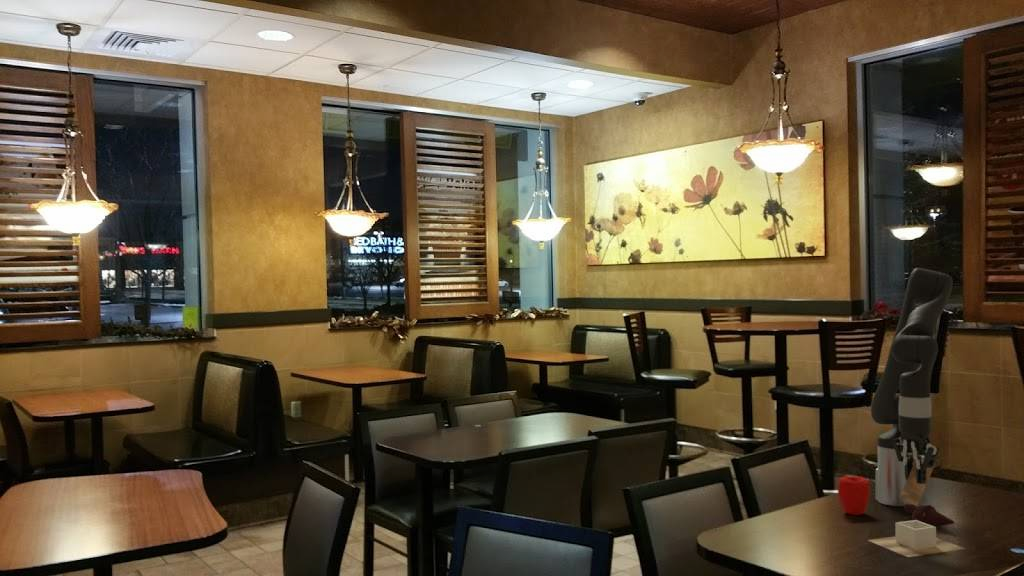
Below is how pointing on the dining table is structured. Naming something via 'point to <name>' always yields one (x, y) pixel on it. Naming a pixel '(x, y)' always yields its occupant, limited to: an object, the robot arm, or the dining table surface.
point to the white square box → (915, 534)
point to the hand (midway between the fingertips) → (915, 481)
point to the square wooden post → (914, 486)
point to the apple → (854, 494)
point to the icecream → (926, 515)
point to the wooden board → (909, 552)
